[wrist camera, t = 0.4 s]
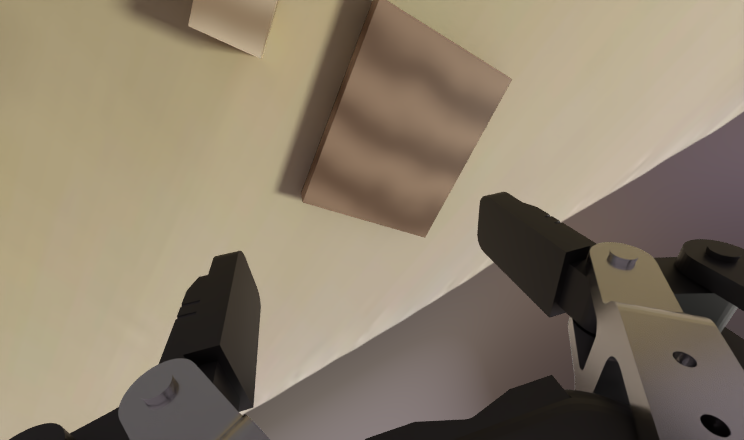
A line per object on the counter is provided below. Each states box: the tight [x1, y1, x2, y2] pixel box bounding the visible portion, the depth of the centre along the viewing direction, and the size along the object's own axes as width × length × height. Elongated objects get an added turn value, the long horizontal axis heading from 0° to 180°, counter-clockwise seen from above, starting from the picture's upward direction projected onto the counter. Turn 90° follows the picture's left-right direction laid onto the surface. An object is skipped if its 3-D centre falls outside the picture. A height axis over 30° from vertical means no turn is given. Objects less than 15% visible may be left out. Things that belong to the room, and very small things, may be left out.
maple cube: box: [188, 0, 278, 58], centre depth 25 cm, size 5×5×5 cm
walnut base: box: [301, 0, 512, 237], centre depth 34 cm, size 20×16×2 cm
